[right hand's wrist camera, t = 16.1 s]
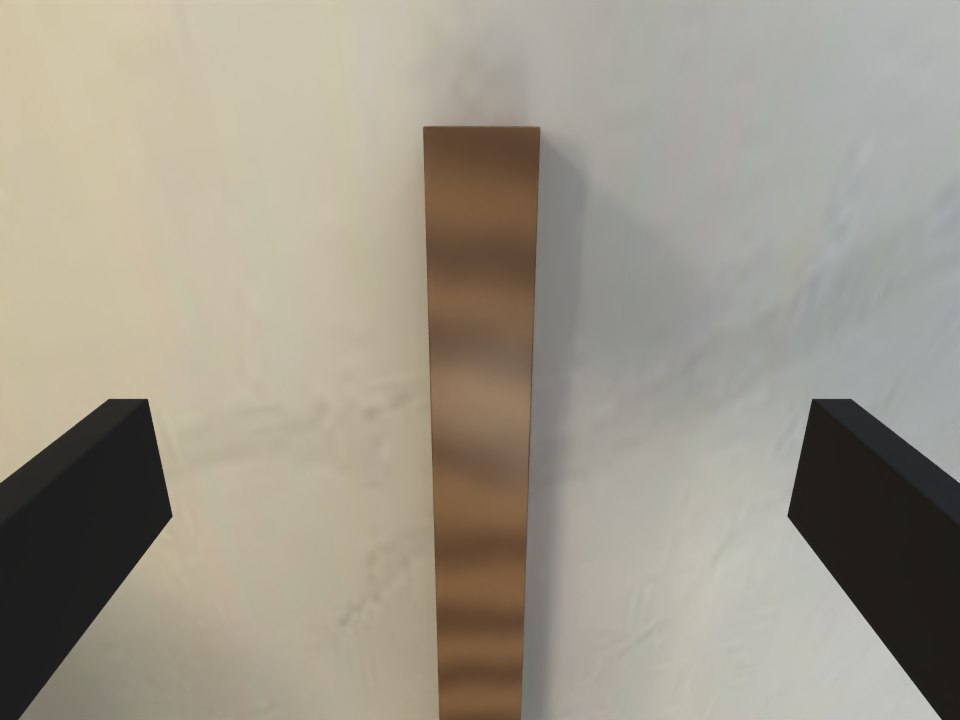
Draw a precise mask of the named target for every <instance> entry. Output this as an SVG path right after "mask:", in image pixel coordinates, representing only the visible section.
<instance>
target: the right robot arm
mask: <svg viewBox="0 0 960 720" xmlns="http://www.w3.org/2000/svg"><path fill="white" fill-rule="evenodd" d="M171 518H172V511H171V506H170V502H169V497H168V492H167V488H166V483H165V478H164V473H163V469H162V464H161V459H160V455H159V450H158V445H157V440H156V436H155V431H154V426H153V422H152V417H151V412H150V407H149V403H148V399H108V400H107V401H106V402H104V403H103V404H102V405H101V406H99V407H98V408H97V409H95V410H94V411H93V412H92V413H90V414H89V415H88V416H86V417H85V418H84V419H83V420H81V421H80V422H79V423H77V424H76V425H75V426H74V427H72V428H71V429H70V430H68V431H67V432H66V433H65V434H63V435H62V436H61V437H59V438H58V439H57V440H55V441H54V442H53V443H52V444H50V445H49V446H48V447H46V448H45V449H44V450H43V451H41V452H40V453H39V454H37V455H36V456H35V457H34V458H32V459H31V460H30V461H28V462H27V463H26V464H25V465H23V466H22V467H21V468H19V469H18V470H17V471H16V472H14V473H13V474H12V475H10V476H9V477H8V478H6V479H5V480H4V481H3V482H1V483H0V720H18V719H19V718H20V717H21V715H22V714H23V713H24V711H25V710H26V709H27V707H28V706H29V705H30V703H31V702H32V701H33V700H34V698H35V697H36V696H37V694H38V693H39V692H40V690H41V689H42V688H43V686H44V685H45V684H46V682H47V681H48V680H49V678H50V677H51V676H52V675H53V673H54V672H55V671H56V669H57V668H58V667H59V665H60V664H61V663H62V661H63V660H64V659H65V657H66V656H67V655H68V653H69V652H70V651H71V649H72V648H73V647H74V646H75V644H76V643H77V642H78V640H79V639H80V638H81V636H82V635H83V634H84V632H85V631H86V630H87V628H88V627H89V626H90V624H91V623H92V622H93V620H94V619H95V618H96V617H97V615H98V614H99V613H100V611H101V610H102V609H103V607H104V606H105V605H106V603H107V602H108V601H109V599H110V598H111V597H112V595H113V594H114V593H115V591H116V590H117V589H118V588H119V586H120V585H121V584H122V582H123V581H124V580H125V578H126V577H127V576H128V574H129V573H130V572H131V570H132V569H133V568H134V566H135V565H136V564H137V563H138V561H139V560H140V559H141V557H142V556H143V555H144V553H145V552H146V551H147V549H148V548H149V547H150V545H151V544H152V543H153V541H154V540H155V539H156V537H157V536H158V535H159V534H160V532H161V531H162V530H163V528H164V527H165V526H166V524H167V523H168V522H169V520H170V519H171ZM788 518H789V519H790V520H791V522H792V523H793V524H794V526H795V527H796V528H797V530H798V531H799V532H800V534H801V535H802V536H803V537H804V539H805V540H806V541H807V543H808V544H809V545H810V547H811V548H812V549H813V551H814V552H815V553H816V555H817V556H818V557H819V559H820V560H821V561H822V563H823V564H824V565H825V566H826V568H827V569H828V570H829V572H830V573H831V574H832V576H833V577H834V578H835V580H836V581H837V582H838V584H839V585H840V586H841V588H842V589H843V590H844V591H845V593H846V594H847V595H848V597H849V598H850V599H851V601H852V602H853V603H854V605H855V606H856V607H857V609H858V610H859V611H860V613H861V614H862V615H863V617H864V618H865V619H866V620H867V622H868V623H869V624H870V626H871V627H872V628H873V630H874V631H875V632H876V634H877V635H878V636H879V638H880V639H881V640H882V642H883V643H884V644H885V646H886V647H887V648H888V649H889V651H890V652H891V653H892V655H893V656H894V657H895V659H896V660H897V661H898V663H899V664H900V665H901V667H902V668H903V669H904V671H905V672H906V673H907V675H908V676H909V677H910V678H911V680H912V681H913V682H914V684H915V685H916V686H917V688H918V689H919V690H920V692H921V693H922V694H923V696H924V697H925V698H926V700H927V701H928V702H929V703H930V705H931V706H932V707H933V709H934V710H935V711H936V713H937V714H938V715H939V717H940V718H941V719H942V720H960V483H959V482H957V481H956V480H955V479H954V478H952V477H951V476H950V475H948V474H947V473H946V472H944V471H943V470H942V469H941V468H939V467H938V466H937V465H935V464H934V463H933V462H932V461H930V460H929V459H928V458H926V457H925V456H924V455H923V454H921V453H920V452H919V451H917V450H916V449H915V448H914V447H912V446H911V445H910V444H908V443H907V442H906V441H905V440H903V439H902V438H901V437H899V436H898V435H897V434H895V433H894V432H893V431H892V430H890V429H889V428H888V427H886V426H885V425H884V424H883V423H881V422H880V421H879V420H877V419H876V418H875V417H874V416H872V415H871V414H870V413H868V412H867V411H866V410H865V409H863V408H862V407H861V406H859V405H858V404H857V403H856V402H854V401H853V400H852V399H812V403H811V407H810V412H809V417H808V422H807V426H806V431H805V436H804V440H803V445H802V450H801V455H800V459H799V464H798V469H797V473H796V478H795V483H794V488H793V492H792V497H791V502H790V506H789V511H788Z"/></svg>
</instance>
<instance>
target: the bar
mask: <svg viewBox="0 0 960 720" xmlns="http://www.w3.org/2000/svg"><path fill="white" fill-rule="evenodd" d="M423 140H424V176H425V213H426V249H427V285H428V321H429V357H430V394H431V430H432V466H433V502H434V538H435V575H436V611H437V647H438V683H439V719H440V720H521V695H522V665H523V634H524V604H525V574H526V543H527V513H528V483H529V452H530V422H531V392H532V362H533V331H534V301H535V271H536V240H537V210H538V180H539V149H540V127H533V126H424V127H423Z"/></svg>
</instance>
